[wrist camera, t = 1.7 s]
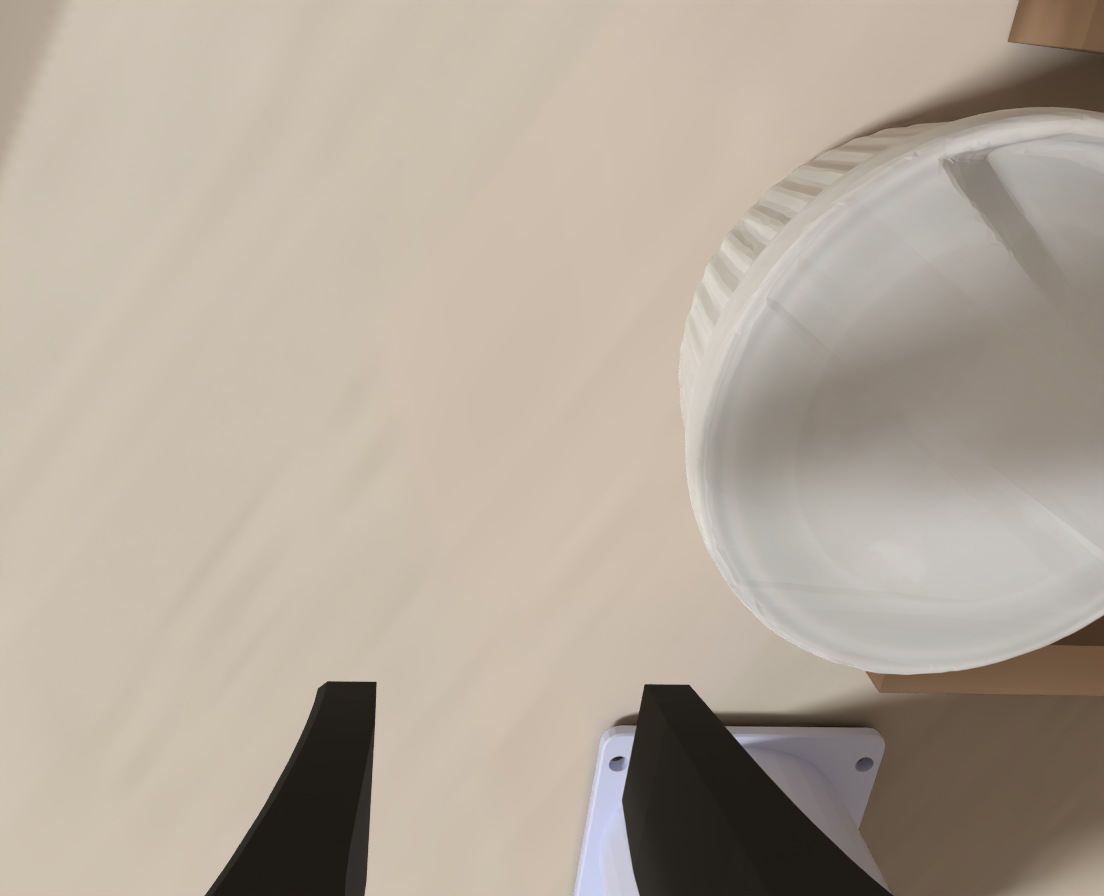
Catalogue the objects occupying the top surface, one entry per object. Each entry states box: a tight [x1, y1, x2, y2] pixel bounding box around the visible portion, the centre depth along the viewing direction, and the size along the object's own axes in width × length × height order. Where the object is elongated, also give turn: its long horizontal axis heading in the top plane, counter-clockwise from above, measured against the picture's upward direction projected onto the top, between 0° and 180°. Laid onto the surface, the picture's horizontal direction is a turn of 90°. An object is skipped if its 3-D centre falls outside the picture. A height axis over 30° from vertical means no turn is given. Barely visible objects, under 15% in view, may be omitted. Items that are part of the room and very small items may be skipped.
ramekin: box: [678, 107, 1104, 675], centre depth 20 cm, size 11×11×5 cm
